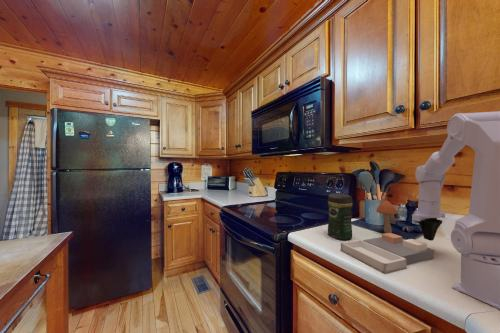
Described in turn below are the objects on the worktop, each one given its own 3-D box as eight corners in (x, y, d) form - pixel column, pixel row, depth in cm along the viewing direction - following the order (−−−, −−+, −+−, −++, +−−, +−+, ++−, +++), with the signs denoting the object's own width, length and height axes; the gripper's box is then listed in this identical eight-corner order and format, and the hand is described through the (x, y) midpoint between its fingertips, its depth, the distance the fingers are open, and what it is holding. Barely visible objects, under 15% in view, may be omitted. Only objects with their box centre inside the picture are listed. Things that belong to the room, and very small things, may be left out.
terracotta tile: (402, 242, 72) (402, 236, 72) (393, 243, 71) (393, 238, 71) (390, 237, 77) (390, 232, 77) (381, 239, 75) (381, 234, 75)
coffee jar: (356, 239, 83) (356, 194, 83) (341, 241, 81) (341, 195, 80) (338, 231, 92) (338, 191, 92) (324, 234, 90) (324, 192, 89)
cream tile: (426, 249, 66) (426, 243, 66) (417, 251, 65) (417, 245, 65) (411, 244, 70) (411, 238, 70) (403, 246, 69) (403, 240, 69)
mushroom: (371, 231, 93) (372, 199, 93) (383, 229, 96) (384, 198, 95) (389, 237, 85) (389, 202, 85) (401, 235, 88) (401, 201, 88)
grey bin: (406, 268, 60) (406, 258, 60) (384, 273, 57) (384, 264, 57) (359, 246, 75) (359, 239, 75) (340, 250, 72) (340, 242, 72)
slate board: (433, 258, 66) (433, 249, 66) (402, 266, 61) (402, 256, 61) (391, 242, 79) (391, 235, 79) (363, 248, 74) (363, 240, 74)
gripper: (429, 197, 76) (428, 233, 76) (403, 200, 71) (402, 238, 71) (452, 201, 70) (452, 239, 70) (426, 203, 65) (425, 245, 65)
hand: (428, 239), depth 70 cm, fingers closed
